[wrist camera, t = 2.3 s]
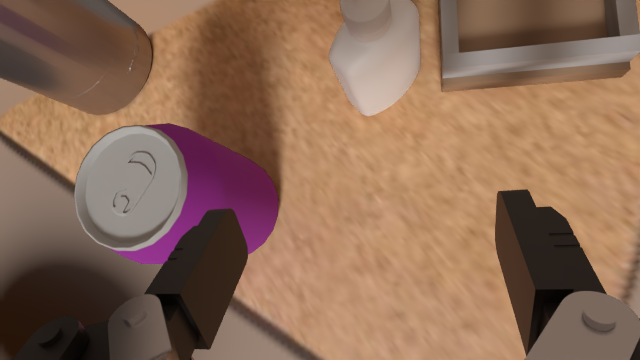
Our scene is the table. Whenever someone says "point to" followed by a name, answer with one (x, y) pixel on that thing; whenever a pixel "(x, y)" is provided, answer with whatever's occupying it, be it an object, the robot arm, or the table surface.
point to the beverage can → (167, 190)
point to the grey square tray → (534, 41)
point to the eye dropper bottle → (376, 52)
